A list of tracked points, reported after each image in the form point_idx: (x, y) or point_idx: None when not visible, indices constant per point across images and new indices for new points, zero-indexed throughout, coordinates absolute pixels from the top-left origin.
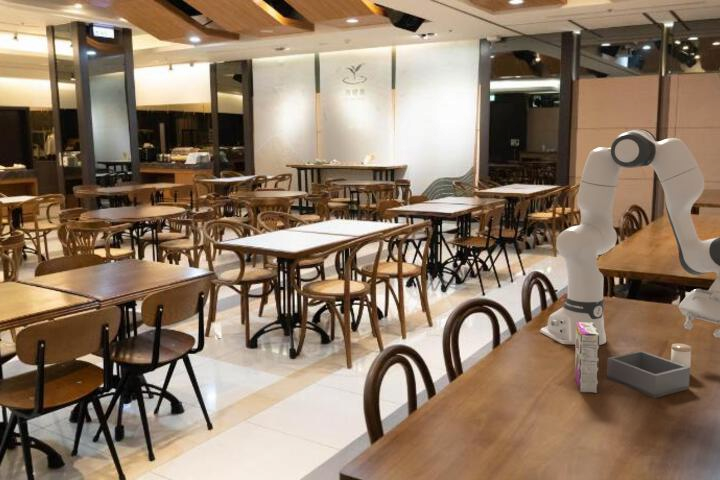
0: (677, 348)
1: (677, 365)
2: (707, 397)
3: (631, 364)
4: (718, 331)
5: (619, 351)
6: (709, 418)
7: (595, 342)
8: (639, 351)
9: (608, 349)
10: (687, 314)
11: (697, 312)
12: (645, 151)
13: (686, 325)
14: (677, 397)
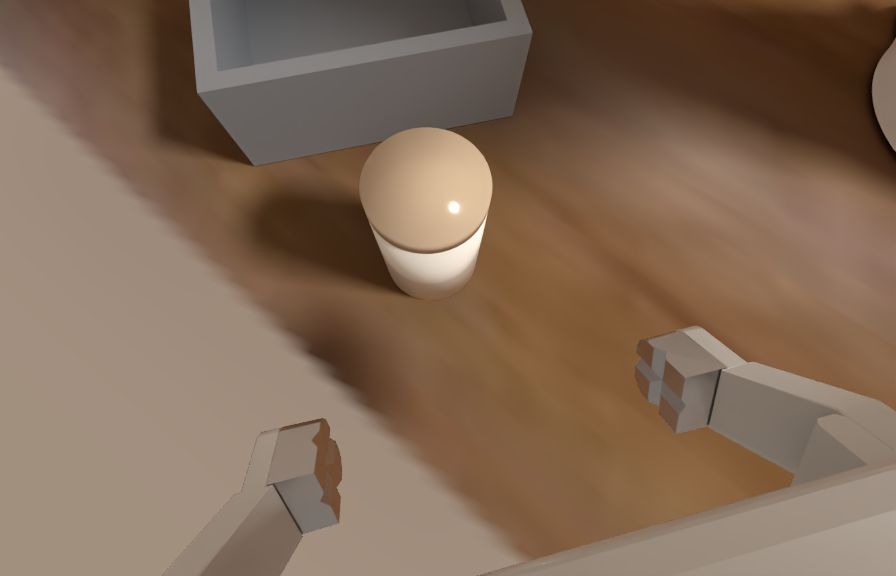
0: (398, 135)
1: (263, 67)
2: (150, 175)
3: (482, 19)
4: (264, 462)
5: (786, 181)
6: (7, 55)
7: None
8: (518, 18)
9: (821, 151)
10: (881, 420)
11: (795, 499)
12: None
13: (665, 334)
14: None
